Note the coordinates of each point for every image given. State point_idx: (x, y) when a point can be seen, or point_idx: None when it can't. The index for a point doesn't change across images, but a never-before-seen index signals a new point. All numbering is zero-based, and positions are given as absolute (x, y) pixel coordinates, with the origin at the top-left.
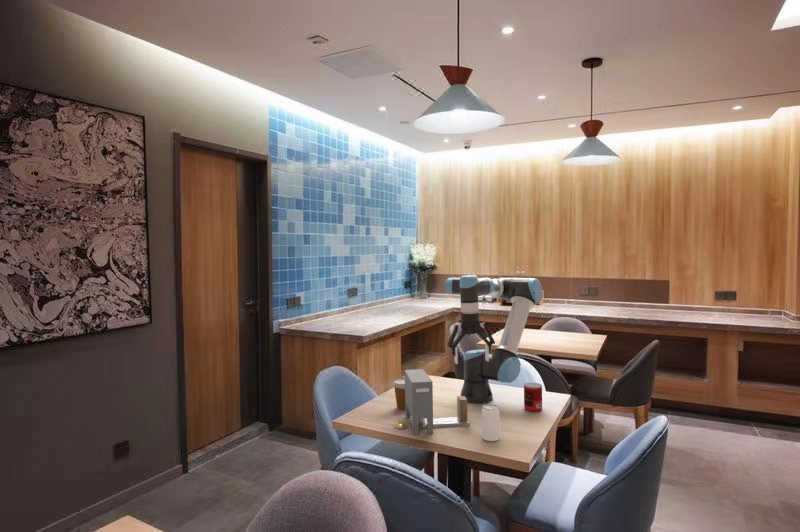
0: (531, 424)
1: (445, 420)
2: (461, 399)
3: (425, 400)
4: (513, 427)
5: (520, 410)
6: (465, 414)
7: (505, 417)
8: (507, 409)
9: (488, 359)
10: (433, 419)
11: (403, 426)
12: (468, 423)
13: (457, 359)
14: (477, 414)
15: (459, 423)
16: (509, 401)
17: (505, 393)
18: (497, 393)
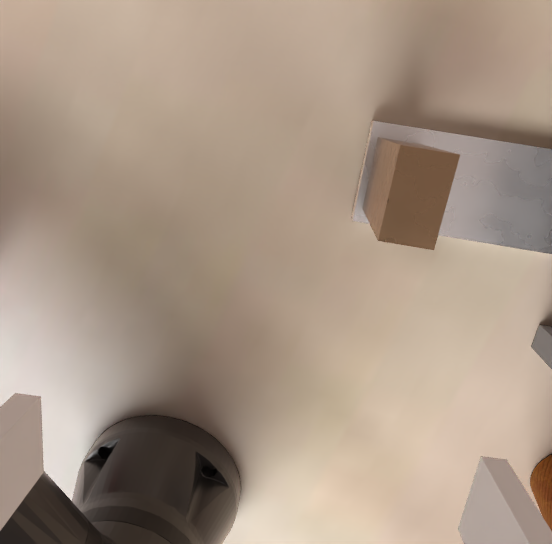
0: (28, 27)
1: (490, 196)
2: (443, 162)
3: None
4: (144, 9)
5: (12, 258)
6: (397, 141)
7: (127, 182)
8: (72, 293)
9: (7, 410)
10: (547, 233)
11: None
12: (378, 121)
13: (512, 508)
14: (252, 273)
15: (433, 130)
16: None
17: None
18: None
